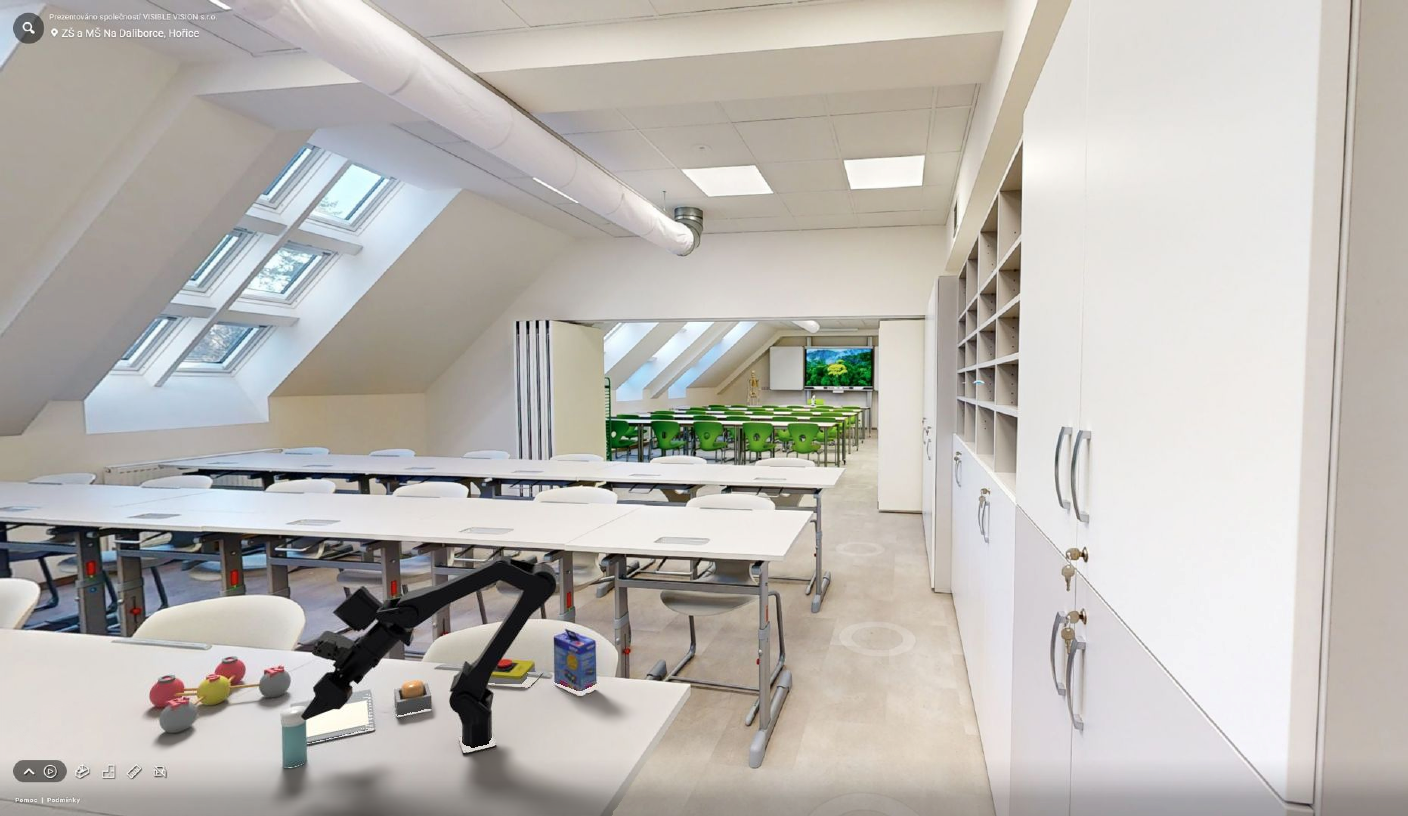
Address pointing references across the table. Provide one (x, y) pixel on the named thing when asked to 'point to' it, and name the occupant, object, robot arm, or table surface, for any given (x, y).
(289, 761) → the white-capped teal tube
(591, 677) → the ink cartridge box
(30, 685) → the table surface
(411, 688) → the button
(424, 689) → the button housing
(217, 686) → the molecule model
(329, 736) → the drawing board
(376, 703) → the table surface
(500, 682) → the emergency button
